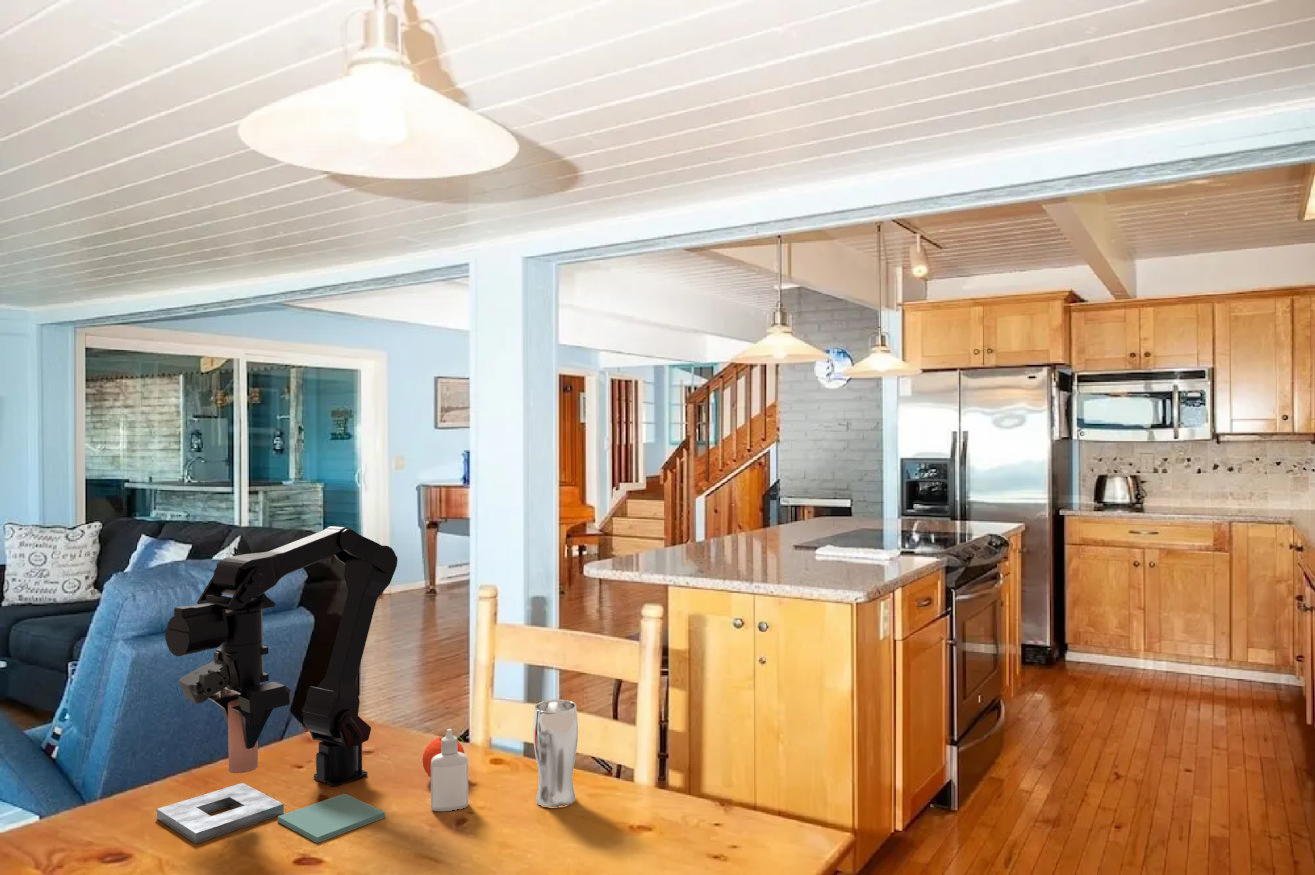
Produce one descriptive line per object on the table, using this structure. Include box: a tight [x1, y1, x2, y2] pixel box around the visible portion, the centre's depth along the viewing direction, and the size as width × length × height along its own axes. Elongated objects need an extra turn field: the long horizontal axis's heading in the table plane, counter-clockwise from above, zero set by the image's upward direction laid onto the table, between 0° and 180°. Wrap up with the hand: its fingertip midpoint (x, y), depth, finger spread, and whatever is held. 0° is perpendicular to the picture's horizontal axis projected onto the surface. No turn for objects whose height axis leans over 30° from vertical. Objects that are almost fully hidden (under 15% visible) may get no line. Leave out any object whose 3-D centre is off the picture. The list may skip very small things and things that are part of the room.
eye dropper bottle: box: [430, 728, 469, 812], centre depth 141 cm, size 4×6×12 cm
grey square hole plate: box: [156, 782, 285, 845], centre depth 138 cm, size 13×13×2 cm
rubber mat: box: [277, 793, 386, 844], centre depth 137 cm, size 11×11×1 cm
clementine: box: [422, 735, 466, 778], centre depth 153 cm, size 8×7×7 cm
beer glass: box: [532, 699, 579, 807], centre depth 143 cm, size 7×7×15 cm
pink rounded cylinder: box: [227, 699, 259, 774], centre depth 138 cm, size 4×4×10 cm
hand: (243, 744), depth 138 cm, fingers closed on pink rounded cylinder, 4 cm apart
